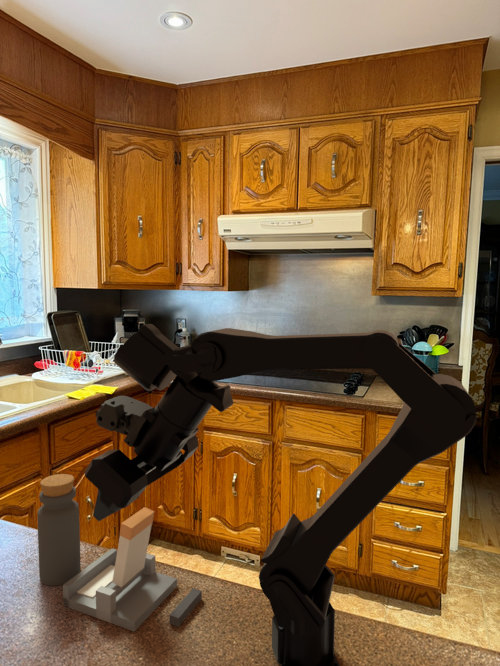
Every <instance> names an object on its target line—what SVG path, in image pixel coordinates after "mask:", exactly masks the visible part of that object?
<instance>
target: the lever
mask: <svg viewBox="0 0 500 666" xmlns="http://www.w3.org/2000/svg"><path fill="white" fill-rule="evenodd" d="M154 516H155V510H152V509H150V508H148V507H146V506H144V507H143V508H141V509H140V510H138V511H137V512H136V513H134V514H133V515H131V516H129V517H128V518H127V519H125V520H124V521H122V522H121V523H120V530H119V539H118V545H117V546H118V547H117V549H116V550H117V556H116V562H115V568H114V574H113V580H112V582H113V583H115V584H116V585H115V586H114V587H113V588H112V589H113V590H116V597H117V596H118V595H119V594H120V593H121V592H122V591H123V590H124V589H125V588H127V587H128V586H129V585H130V584H131V583H132V582H133V581H134V580H135V579H137V578H138V577H139V576H140V575H141V574H142V573H143V572H144V571H145V570H146V567H145V559H146V554H147V553H148V547H149V541H150V537H151V536H150V535H151V530H152V526H153V521H154Z"/></svg>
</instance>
